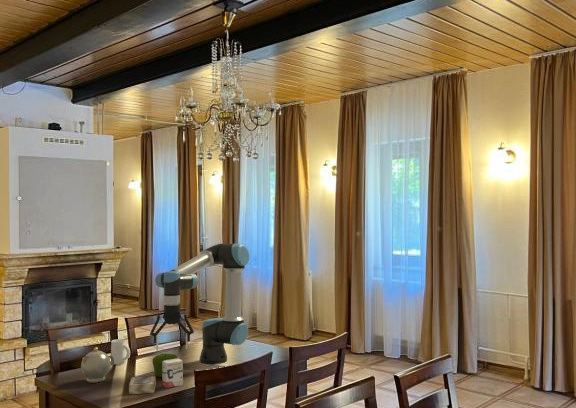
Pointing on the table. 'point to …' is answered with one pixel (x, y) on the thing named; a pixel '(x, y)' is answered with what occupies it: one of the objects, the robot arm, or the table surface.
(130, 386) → the plinth
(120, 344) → the mug
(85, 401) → the table surface
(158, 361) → the apple
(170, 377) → the ink box
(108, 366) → the teapot
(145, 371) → the table surface
